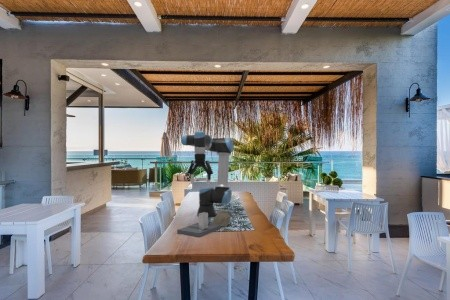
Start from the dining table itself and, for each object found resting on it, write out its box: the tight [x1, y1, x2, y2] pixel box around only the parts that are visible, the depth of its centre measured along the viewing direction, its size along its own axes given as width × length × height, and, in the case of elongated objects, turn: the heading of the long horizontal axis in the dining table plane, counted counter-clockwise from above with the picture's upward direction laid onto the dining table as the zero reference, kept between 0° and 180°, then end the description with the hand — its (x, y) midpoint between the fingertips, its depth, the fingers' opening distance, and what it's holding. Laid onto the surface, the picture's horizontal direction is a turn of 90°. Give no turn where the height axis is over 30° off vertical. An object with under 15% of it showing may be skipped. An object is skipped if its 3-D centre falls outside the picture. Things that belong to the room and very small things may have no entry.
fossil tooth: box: [210, 209, 232, 228], centre depth 236 cm, size 12×6×15 cm
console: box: [176, 220, 221, 238], centre depth 221 cm, size 18×24×5 cm
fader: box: [198, 212, 209, 230], centre depth 217 cm, size 4×6×10 cm, turn 148°
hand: (200, 184), depth 229 cm, fingers open, 13 cm apart
